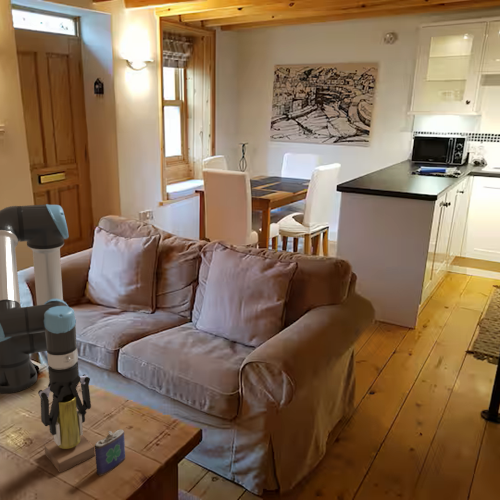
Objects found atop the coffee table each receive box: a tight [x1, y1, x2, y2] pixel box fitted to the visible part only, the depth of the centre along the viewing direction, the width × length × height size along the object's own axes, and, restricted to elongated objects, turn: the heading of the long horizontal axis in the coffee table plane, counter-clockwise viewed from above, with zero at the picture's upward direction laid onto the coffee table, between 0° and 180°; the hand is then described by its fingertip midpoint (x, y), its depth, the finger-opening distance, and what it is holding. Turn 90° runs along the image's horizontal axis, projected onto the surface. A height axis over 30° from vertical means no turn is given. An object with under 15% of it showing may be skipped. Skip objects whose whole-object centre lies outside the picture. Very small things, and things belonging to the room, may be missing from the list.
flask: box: [94, 429, 126, 476], centre depth 130 cm, size 9×3×11 cm, turn 144°
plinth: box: [43, 434, 96, 473], centre depth 134 cm, size 10×10×3 cm
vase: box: [57, 394, 80, 449], centre depth 132 cm, size 6×6×14 cm
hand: (68, 437), depth 133 cm, fingers closed on vase, 6 cm apart
